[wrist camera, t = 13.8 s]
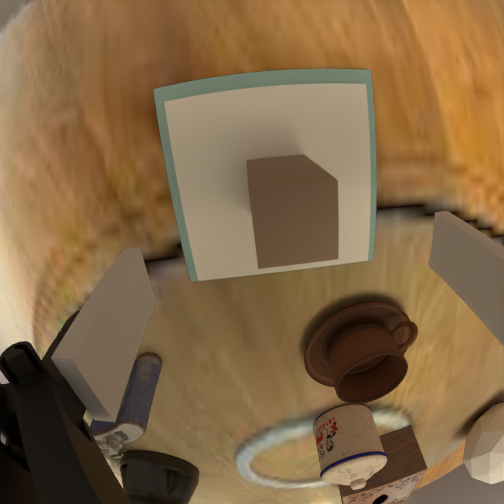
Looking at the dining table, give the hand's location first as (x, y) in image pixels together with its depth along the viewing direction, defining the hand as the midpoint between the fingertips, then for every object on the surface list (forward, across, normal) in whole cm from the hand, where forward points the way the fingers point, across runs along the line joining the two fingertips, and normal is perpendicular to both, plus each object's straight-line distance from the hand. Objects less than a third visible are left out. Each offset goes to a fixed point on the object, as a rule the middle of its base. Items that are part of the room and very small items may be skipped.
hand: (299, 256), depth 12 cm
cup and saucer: (+12, +8, -17) cm, 22 cm away
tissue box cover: (+13, +16, -56) cm, 60 cm away
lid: (+11, 0, +1) cm, 11 cm away
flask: (+12, -18, -19) cm, 29 cm away
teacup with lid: (+12, +7, -35) cm, 38 cm away
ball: (+12, +46, -53) cm, 71 cm away
